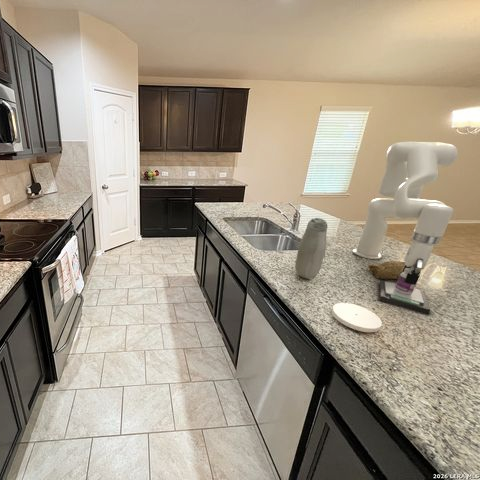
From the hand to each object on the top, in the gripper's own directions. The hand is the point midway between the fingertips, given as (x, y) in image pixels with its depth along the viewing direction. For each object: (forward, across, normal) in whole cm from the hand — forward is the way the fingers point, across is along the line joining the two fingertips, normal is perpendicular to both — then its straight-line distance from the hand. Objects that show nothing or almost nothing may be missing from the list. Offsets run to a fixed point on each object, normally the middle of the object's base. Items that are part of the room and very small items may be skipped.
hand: (408, 278), depth 99 cm
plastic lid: (+9, +30, -14) cm, 34 cm away
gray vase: (+9, +6, -34) cm, 36 cm away
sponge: (+9, -21, -2) cm, 23 cm away
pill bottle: (+6, 0, 0) cm, 6 cm away
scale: (+9, +1, 0) cm, 9 cm away
